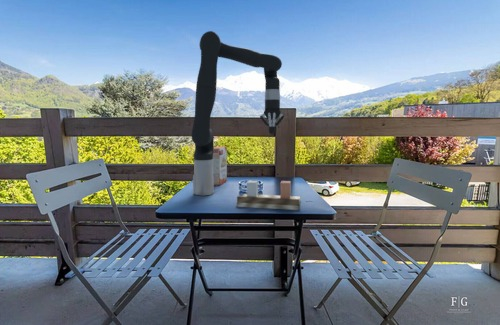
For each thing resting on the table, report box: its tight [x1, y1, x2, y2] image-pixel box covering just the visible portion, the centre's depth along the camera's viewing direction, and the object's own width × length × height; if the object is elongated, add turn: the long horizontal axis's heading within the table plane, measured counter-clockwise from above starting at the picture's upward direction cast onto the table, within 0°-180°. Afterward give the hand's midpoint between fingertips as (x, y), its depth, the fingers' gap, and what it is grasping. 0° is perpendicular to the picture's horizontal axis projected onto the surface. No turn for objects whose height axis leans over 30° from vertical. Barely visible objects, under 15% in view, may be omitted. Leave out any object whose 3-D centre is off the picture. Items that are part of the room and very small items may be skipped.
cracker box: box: [213, 146, 228, 186], centre depth 158 cm, size 14×6×21 cm, turn 168°
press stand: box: [236, 193, 301, 211], centre depth 119 cm, size 26×15×4 cm, turn 78°
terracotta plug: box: [279, 180, 292, 199], centre depth 116 cm, size 4×4×8 cm
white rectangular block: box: [246, 179, 259, 197], centre depth 117 cm, size 4×4×8 cm
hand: (272, 134), depth 139 cm, fingers closed
